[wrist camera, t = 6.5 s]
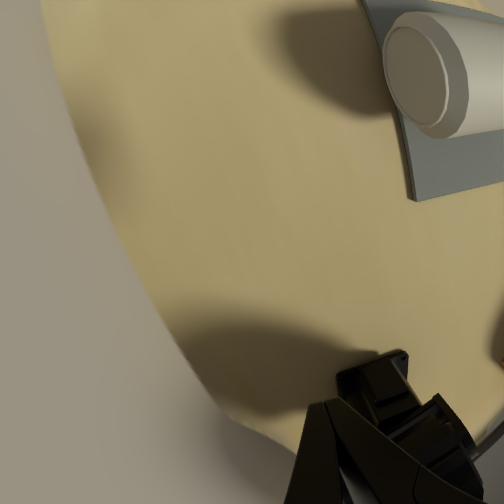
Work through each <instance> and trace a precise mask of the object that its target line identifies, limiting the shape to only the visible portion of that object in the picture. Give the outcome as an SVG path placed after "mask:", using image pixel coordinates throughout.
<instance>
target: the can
mask: <svg viewBox="0 0 504 504" xmlns="http://www.w3.org/2000/svg"><path fill="white" fill-rule="evenodd" d="M383 68H384V74H385V79H386V82H387V85H388V88H389V91H390V93H391V95H392V98H393V100H394V102H395V104H396V105H397V107H398V108H399V110H400V111H401V113H402V114H403V116H405V117H406V118H407V119H408V120H409V121H410V122H411V123H412V124H414V125H415V126H416V127H417V128H418V129H419V130H420V131H421V132H422V133H424V134H426V135H428V136H430V137H432V138H434V139H448V138H453V137H459V136H464V135H470V134H476V133H482V132H488V131H494V130H500V129H504V24H502V23H498V22H493V21H488V20H483V19H478V18H472V17H466V16H459V15H452V14H443V13H433V12H420V11H416V12H405V13H404V14H402V15H401V16H400V17H398V18H397V19H396V20H395V22H394V24H393V26H392V27H391V29H390V30H389V32H388V34H387V36H386V37H385V40H384V45H383Z"/></svg>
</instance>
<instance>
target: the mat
mask: <svg viewBox="0 0 504 504" xmlns="http://www.w3.org/2000/svg"><path fill="white" fill-rule="evenodd" d="M362 3H363V5H364V7H365V10H366V12H367V15H368V17H369V20H370V23H371V25H372V28H373V31H374V33H375V36H376V39H377V42H378V45H379V48H380V51H381V54H382V57H383V45H384V40H385V37H386V36H387V34H388V32H389V30H390V29H391V27H392V26H393V24H394V22H395V20H396V19H397V18H398V17H400V16H401V15H402V14H404V13H405V12H416V11H420V12H433V13H443V14H452V15H459V16H466V17H472V18H478V19H483V20H488V21H493V22H498V23H502V24H504V18H501V17H498V16H495V15H491V14H488V13H484V12H481V11H477V10H473V9H469V8H464V7H460V6H455V5H450V4H445V3H439V2H434V1H427V0H362ZM396 107H397V105H396ZM397 111H398V115H399V120H400V124H401V129H402V133H403V138H404V143H405V149H406V154H407V160H408V166H409V172H410V179H411V186H412V193H413V201H415V202H420V201H424V200H428V199H432V198H436V197H440V196H444V195H448V194H453V193H457V192H461V191H465V190H469V189H473V188H477V187H481V186H486V185H490V184H494V183H498V182H502V181H504V129H500V130H494V131H488V132H482V133H476V134H470V135H464V136H459V137H453V138H448V139H434V138H432V137H430V136H428V135H426V134H424V133H422V132H421V131H420V130H419V129H418V128H417V127H416V126H415V125H414V124H412V123H411V122H410V121H409V120H408V119H407V118H406V117H405V116H403V114H402V113H401V111H400V110H399V108H398V107H397Z"/></svg>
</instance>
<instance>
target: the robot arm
mask: <svg viewBox="0 0 504 504" xmlns="http://www.w3.org/2000/svg"><path fill="white" fill-rule="evenodd" d="M408 358H409V356H408V354H407V352H406V351H401V352H398V353H396V354H393V355H390V356H388V357H385V358H382V359H379V360H376V361H373V362H371V363H368V364H365V365H362V366H358V367H355V368H352V369H349V370H346V371H343V372H340V373H338V374H337V375H336V386H337V394H338V397H333V398H329V399H326V400H325V401H324V402H323V401H318V402H314V403H311V404H309V406H308V410H307V414H306V419H305V423H304V427H303V432H302V436H301V440H300V444H299V448H298V452H297V456H296V460H295V464H294V468H293V472H292V475H291V479H290V483H289V486H288V490H287V493H286V497H285V500H284V504H488V503H486V502H484V501H483V493H484V490H483V487H482V486H483V482H482V479H481V477H480V475H479V473H478V471H477V469H476V468H475V466H474V464H473V462H472V460H471V459H473V458H474V457H475V456H477V455H478V449H477V447H476V445H475V443H474V441H473V439H472V437H471V435H470V434H469V432H468V430H467V429H466V427H465V426H464V424H463V423H462V421H461V420H460V419H459V418H458V416H457V415H456V414H455V413H454V411H453V410H452V409H451V408H450V406H449V405H448V404H447V403H446V402H445V400H444V399H443V398H442V397H441V395H440V394H439V393H437V394H436V395H434V396H433V397H432V399H431V400H429V401H428V402H427V403H425V404H424V405H422V403H421V402H420V400H419V399H418V397H417V395H416V394H415V392H414V391H413V389H412V388H411V386H410V385H409V383H408V382H407V374H408ZM342 377H343V378H342ZM340 378H342V379H340ZM342 499H343V500H342Z"/></svg>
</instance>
